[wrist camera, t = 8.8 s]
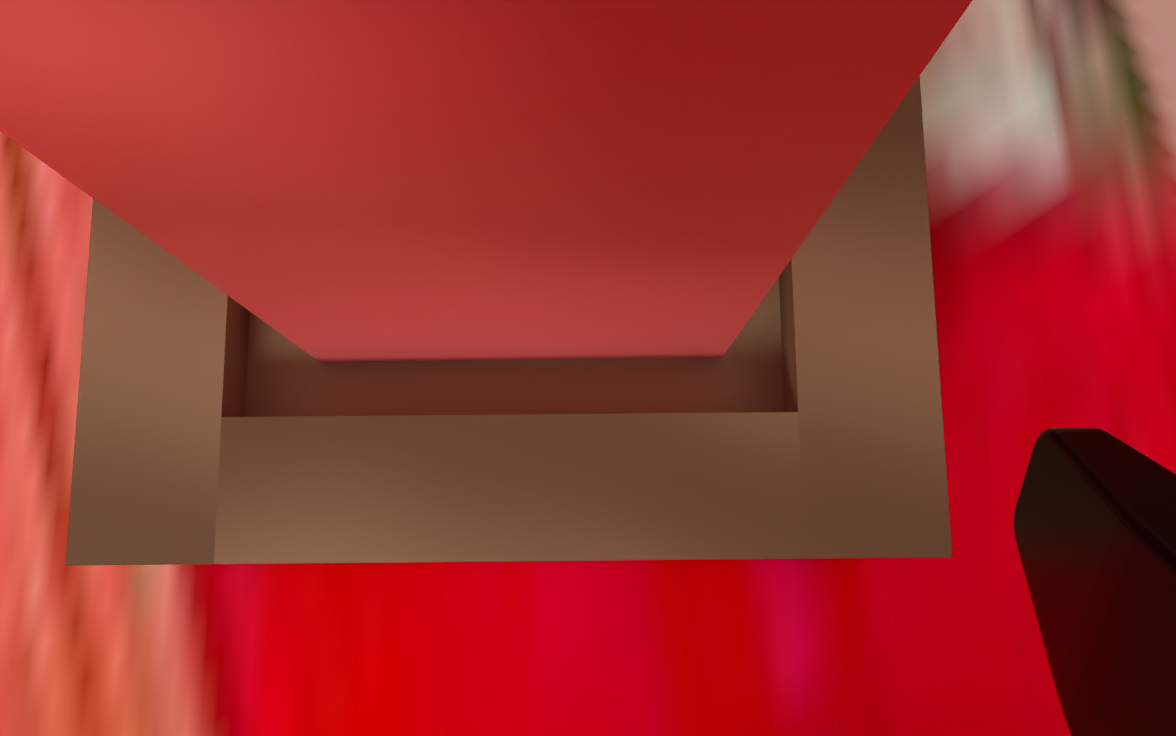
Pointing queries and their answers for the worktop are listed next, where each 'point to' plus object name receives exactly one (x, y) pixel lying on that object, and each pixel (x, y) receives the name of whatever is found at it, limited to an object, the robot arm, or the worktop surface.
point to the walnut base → (526, 421)
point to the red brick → (469, 155)
